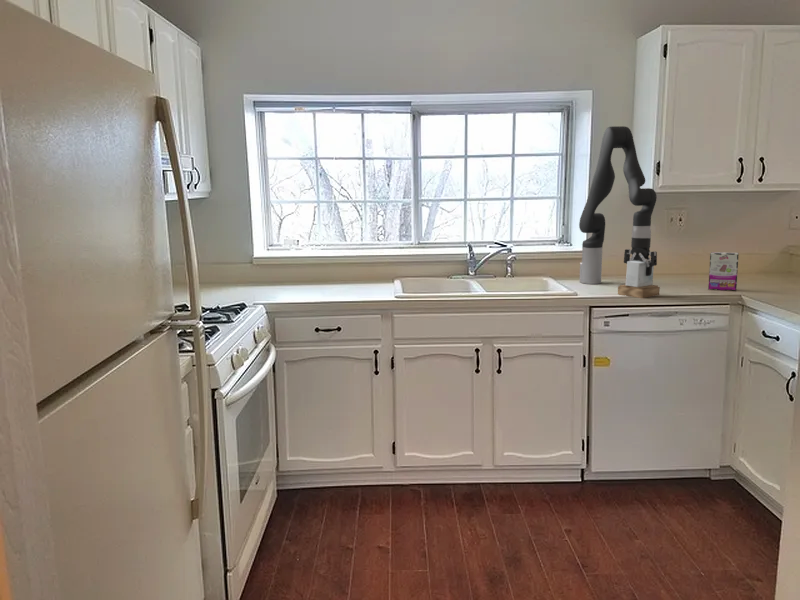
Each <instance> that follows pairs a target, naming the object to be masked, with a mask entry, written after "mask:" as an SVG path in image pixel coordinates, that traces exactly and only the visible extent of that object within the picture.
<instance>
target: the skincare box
mask: <svg viewBox="0 0 800 600" xmlns="http://www.w3.org/2000/svg"><path fill="white" fill-rule="evenodd" d="M646 267H647V265H646V264H645V263H644V262H643V261H640V260H635V261H627V264H626V277H625V285H626V286H633V287H643V286H649V285H654V283H653V282H654V269H655V268H654V267H655V266H653V267H652V274H651V275H650V276H646Z"/></svg>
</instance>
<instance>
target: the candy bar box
mask: <svg viewBox="0 0 800 600" xmlns="http://www.w3.org/2000/svg"><path fill="white" fill-rule="evenodd" d="M739 255H740V254H739V252H729V251H728V252H727V251H726V252H722V251H721V252H718V251H716V252H715V251H713V252H712V251H711V252H710V254H709V270H708V290H709V289H717V290H716V291H727V290H736V291H737V288H738V287H737V285H738V271H739V270H738V269H739V257H740V256H739Z"/></svg>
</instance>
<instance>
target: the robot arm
mask: <svg viewBox="0 0 800 600" xmlns="http://www.w3.org/2000/svg"><path fill="white" fill-rule="evenodd" d="M601 139H602V140H601V144H600V150H599V154H598V155H599V156H598V160H597V162H596V163H597V164H596V168H595V171H594V174H593V178H592V182H591V185H590V188H589V193H588V196H587V199H586V202H585V205H584V208H583V210H582V213H581V215H580V218H579V223H578V226H579V227H578V228H579V231H580V232H581V233H584V234H591V236H590V237H589V238H587V239H584V240H583V241H582V244H581V245H582V248H581V251H582V253H581V262H579V283H582V284H587V285H597V284H602V273H603V272H602V271H603V270H602V269H603V266H602V265H603V244H604V243H605V241H604V240H605V233H606V232H605V231H606V217H605V215H604V214H603V213H600V212H596V210H597V208H598V207H599V205H600V204H601V203H602V202H603V201H604V200H605V199H606V198H607V197H608V196H609V194H610V193H611V192H612V189H613V186H614V184H615V183H614V182H615V179H616V173H615V170H614V168H613V167H614V166H613V165H612V164H613V163H612V155H613V154H612V153H613V150H614V149H622V150H623V152H624V154H625V158H624V164H623V167H622V168H623V169H622V171H623V175H624V177H625V180H626V182H627V185H628V195H629V196H628V197H629V201H630V203H631V204H632V205H634V206H636V207H637V206H638V207H639V206H642V207H641V209H640V210H638V211H636V212H634V213H633V218H632V230H631V245H630V247H631V249H630V248H626V249H624V255H623V263H624V264H626V265H627V261H635V260H640V261H643V262H644V263H645V264H646V265H647V267H646V276H650V275H651V274H652V267H653V266H654V267H655V266H657V265H658V258H657V257H658V254H657V253H658V252H657V251H655V250H654V251H651V250H650V248H651V237H652V229H651V227H652V226H651V225H652V215H653V212H654V209H655V206H656V204H657V203H656V202H657V199H658V198H657V192H656V191H655V190H654V189H653V188H650V187H649V188H641V187H642V186H644V184H646V177H645V175H644V173H643V170H642V168H641V165H640V162H639V159H638V155H637V150H636V144H635V141H634V136H633V133H632V131H631V129H630V128H629V127H628V126H624V125H623V126H616V125H615V126H614V125H613V126H609V127H606V128H605V130H604V132H603V135H602V138H601ZM649 256H650V257H649Z"/></svg>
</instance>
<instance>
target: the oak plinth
mask: <svg viewBox="0 0 800 600" xmlns="http://www.w3.org/2000/svg"><path fill="white" fill-rule="evenodd" d="M625 284H626V283H625ZM625 284H620V285H619V286H618V287H617V295H618V294H619V296H625V295H626V296H625V297H630V298H631V297H632V298H638V299H639V298H640V299H644V298H650V297H655V296H660V289H661V288H660V287H661V286H659V285H656V284H653V285H649V286H643V287H633V286H626V285H625Z"/></svg>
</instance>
